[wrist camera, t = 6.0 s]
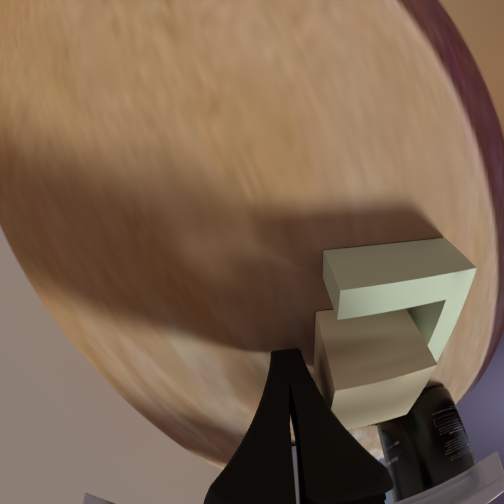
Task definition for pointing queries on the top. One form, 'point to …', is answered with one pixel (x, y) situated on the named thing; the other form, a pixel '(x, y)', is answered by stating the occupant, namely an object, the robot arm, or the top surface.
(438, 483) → the supplement bottle
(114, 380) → the top surface
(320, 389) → the birch block
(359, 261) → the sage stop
